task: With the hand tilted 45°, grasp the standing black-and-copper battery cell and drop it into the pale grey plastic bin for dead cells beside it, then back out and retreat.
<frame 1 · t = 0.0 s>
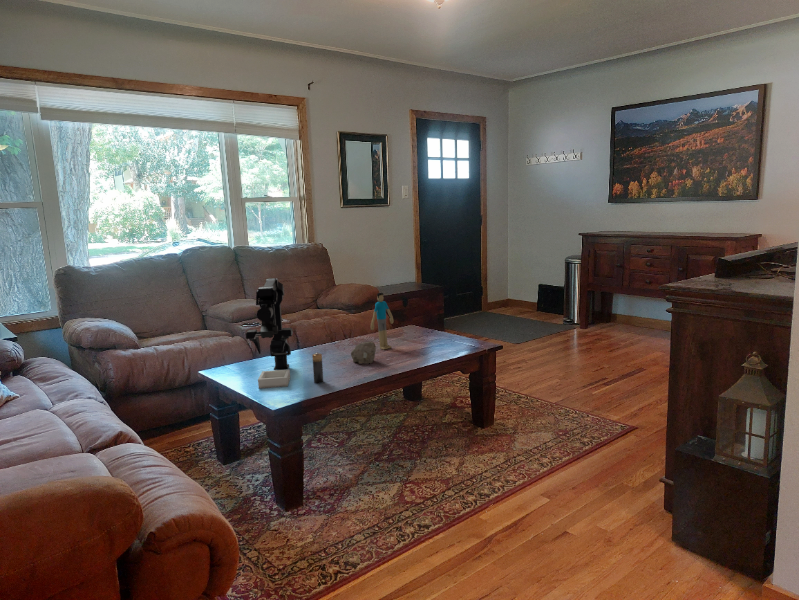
hand: (271, 353, 229), 15 cm above the table, tool pointing down, fingers open, 9 cm apart
cell: (318, 381, 235), on the table
rock: (365, 362, 262), on the table
bin: (274, 383, 235), on the table
figurine: (384, 348, 287), on the table
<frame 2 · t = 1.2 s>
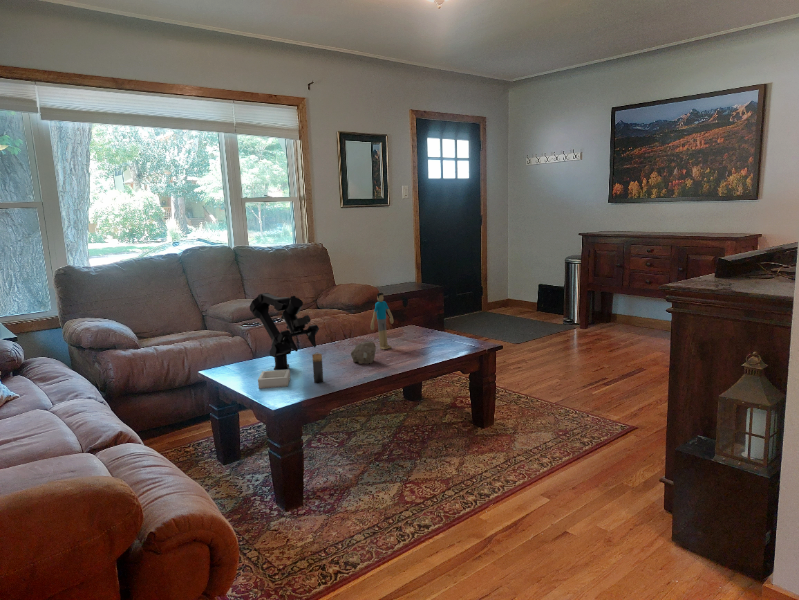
hand: (306, 349, 239), 13 cm above the table, tool tilted 45°, fingers open, 9 cm apart
nothing on the table moved.
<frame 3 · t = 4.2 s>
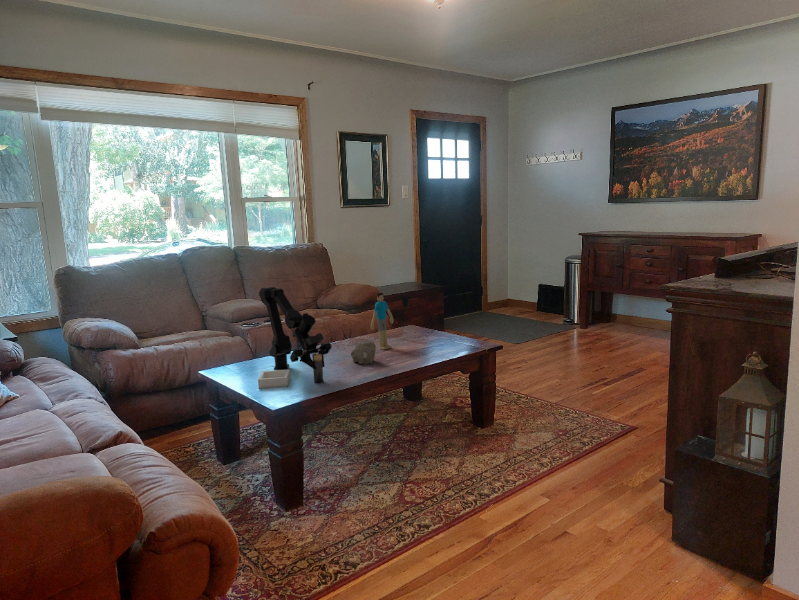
hand: (319, 367, 233), 7 cm above the table, tool tilted 45°, fingers closed on cell, 4 cm apart
cell: (318, 381, 235), on the table, touching gripper
everything else where it was.
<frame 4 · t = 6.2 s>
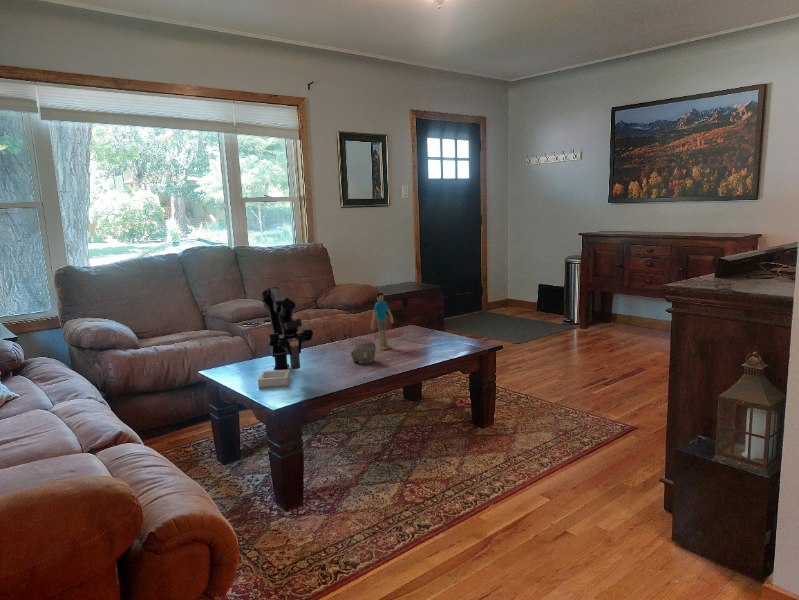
hand: (295, 353, 230), 14 cm above the table, tool tilted 45°, fingers closed on cell, 4 cm apart
cell: (295, 367, 232), point 7 cm above the table, touching gripper
everything else where it was.
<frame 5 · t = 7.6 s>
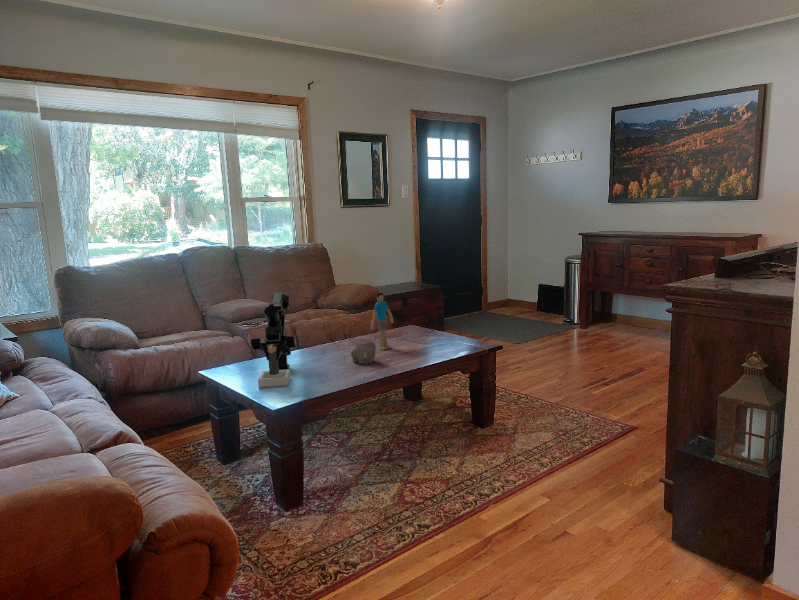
hand: (272, 359, 232), 11 cm above the table, tool tilted 45°, fingers closed on cell, 4 cm apart
cell: (274, 373, 235), point 4 cm above the table, touching gripper
everything else where it was.
when the fingers open (9 cm above the table, at t = 8.3 s): cell drops 2 cm, resting on bin.
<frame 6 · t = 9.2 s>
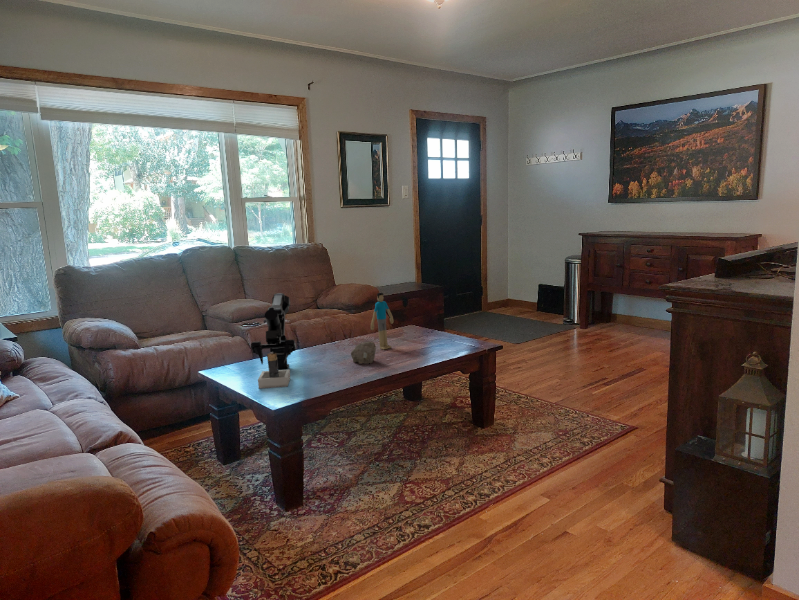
hand: (272, 363, 232), 9 cm above the table, tool tilted 45°, fingers open, 9 cm apart
cell: (274, 381, 235), point 1 cm above the table, touching bin
everything else where it was.
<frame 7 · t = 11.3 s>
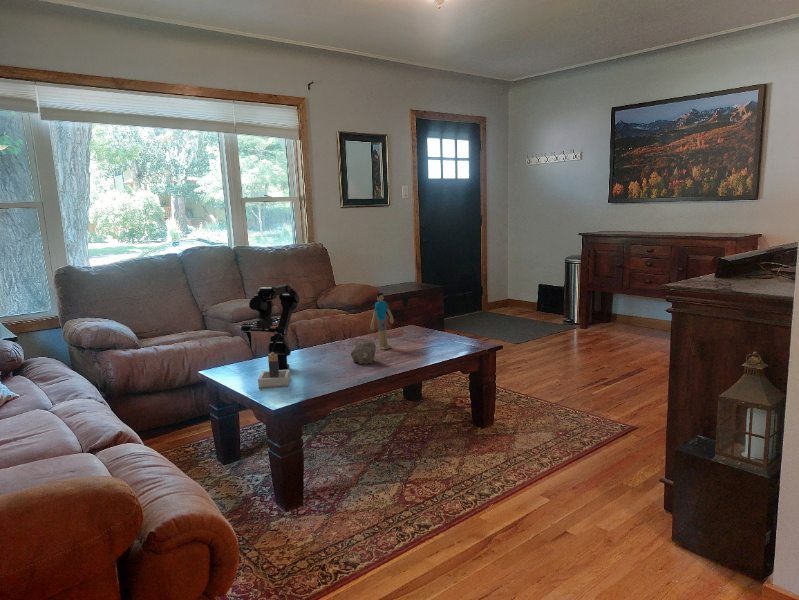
hand: (261, 349, 239), 14 cm above the table, tool tilted 20°, fingers open, 9 cm apart
nothing on the table moved.
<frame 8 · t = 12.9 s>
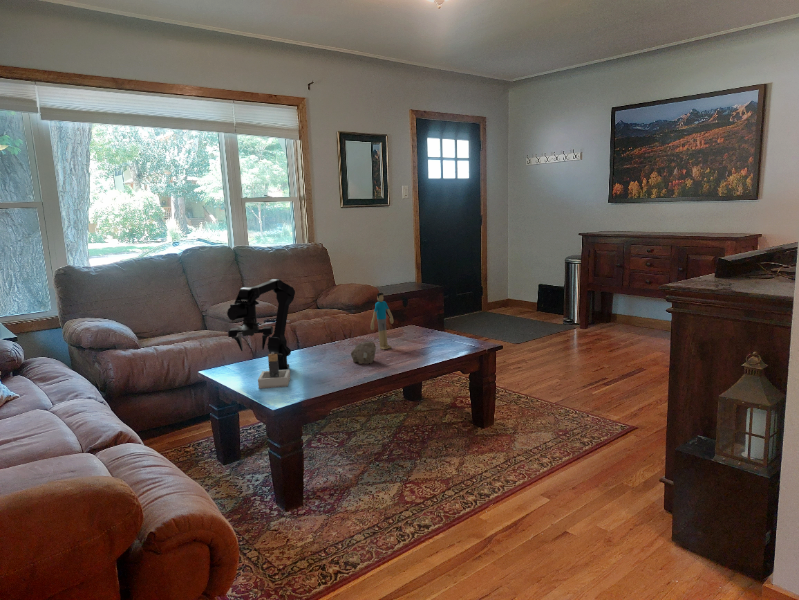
hand: (252, 350, 241), 13 cm above the table, tool pointing down, fingers open, 9 cm apart
nothing on the table moved.
at the end: cell inside the target area on the bin (0.0 cm from its centre), point 0.8 cm above the bin's base; the gripper is holding nothing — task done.
